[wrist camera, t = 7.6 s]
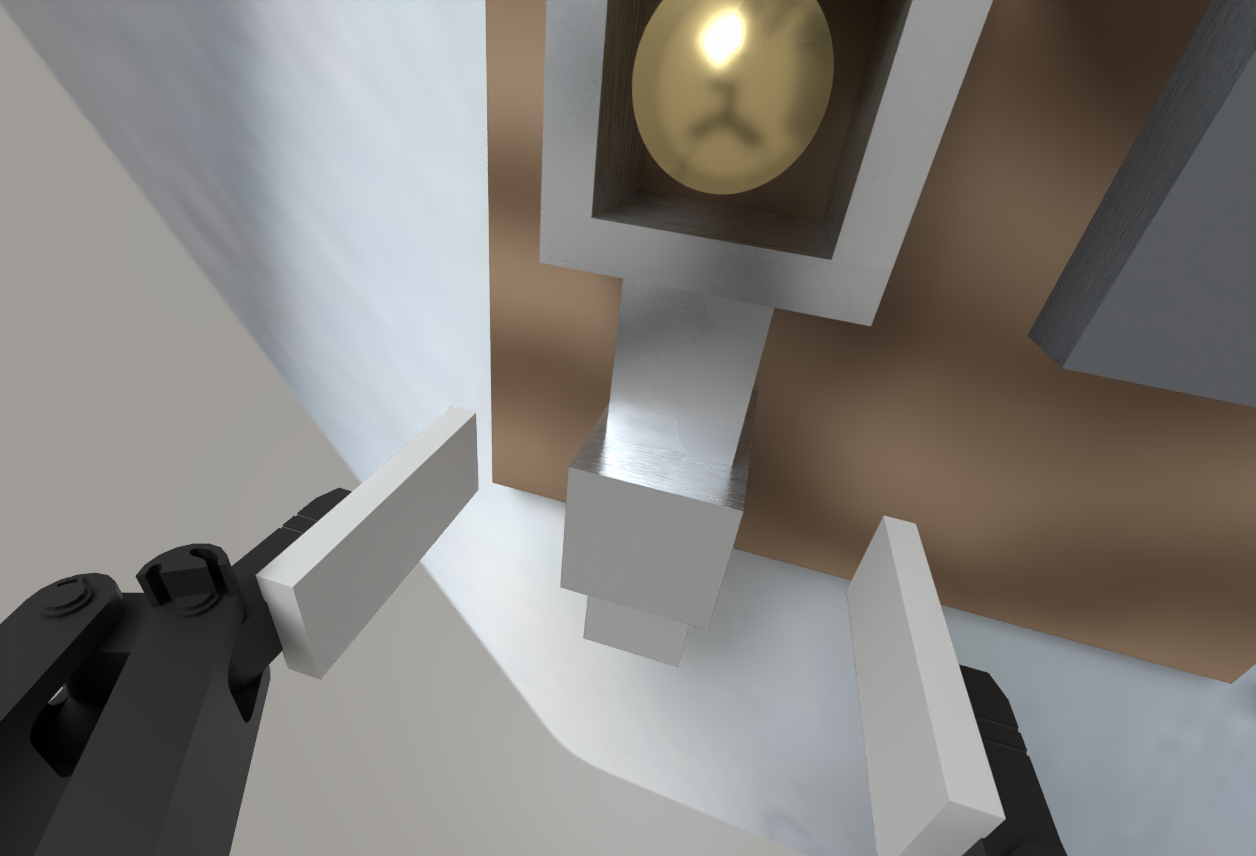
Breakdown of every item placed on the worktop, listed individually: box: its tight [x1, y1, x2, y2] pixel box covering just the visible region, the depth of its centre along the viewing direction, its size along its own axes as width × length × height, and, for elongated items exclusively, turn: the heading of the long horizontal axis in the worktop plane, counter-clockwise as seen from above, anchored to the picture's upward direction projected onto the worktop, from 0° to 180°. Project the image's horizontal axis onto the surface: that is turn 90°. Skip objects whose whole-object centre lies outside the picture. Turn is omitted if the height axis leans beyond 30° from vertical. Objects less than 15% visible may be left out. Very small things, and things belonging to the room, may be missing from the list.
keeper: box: [1027, 0, 1256, 407], centre depth 8 cm, size 8×5×9 cm, turn 172°
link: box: [539, 0, 993, 667], centre depth 14 cm, size 19×7×6 cm, turn 173°
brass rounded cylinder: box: [632, 0, 834, 194], centre depth 11 cm, size 3×3×8 cm
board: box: [486, 0, 1256, 684], centre depth 15 cm, size 20×26×1 cm
